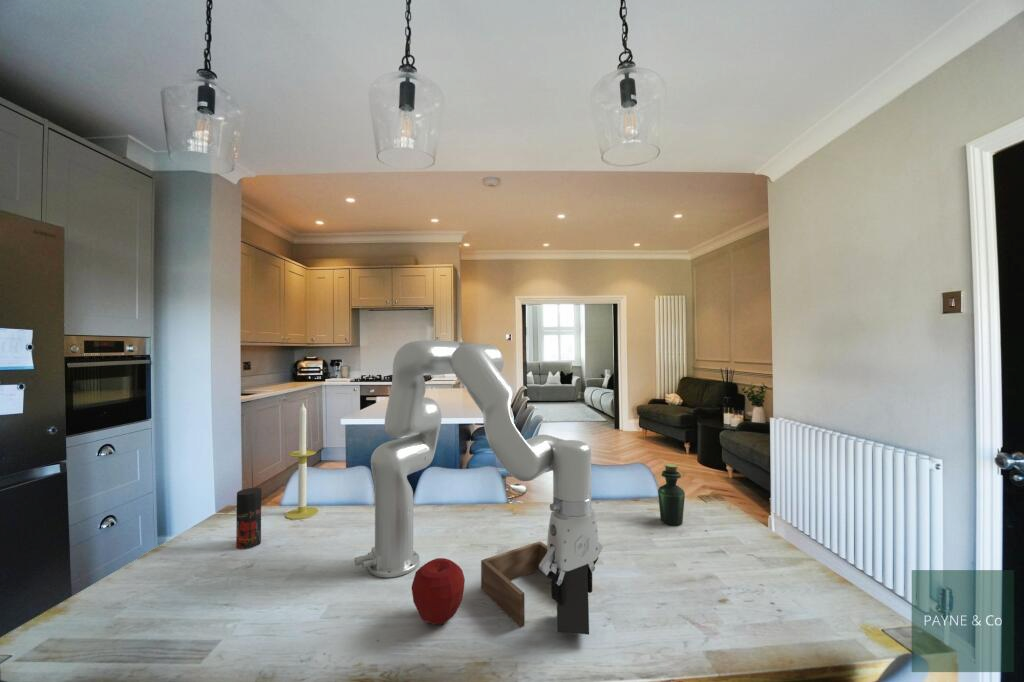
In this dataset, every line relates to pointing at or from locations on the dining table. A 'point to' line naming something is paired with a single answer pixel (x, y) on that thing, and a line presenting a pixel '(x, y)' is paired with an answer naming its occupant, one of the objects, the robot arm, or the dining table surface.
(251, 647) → the dining table surface
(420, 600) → the apple
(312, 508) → the candle
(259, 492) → the deodorant
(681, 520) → the potion bottle
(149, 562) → the dining table surface
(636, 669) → the dining table surface
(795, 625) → the dining table surface
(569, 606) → the phone stand
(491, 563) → the open box
